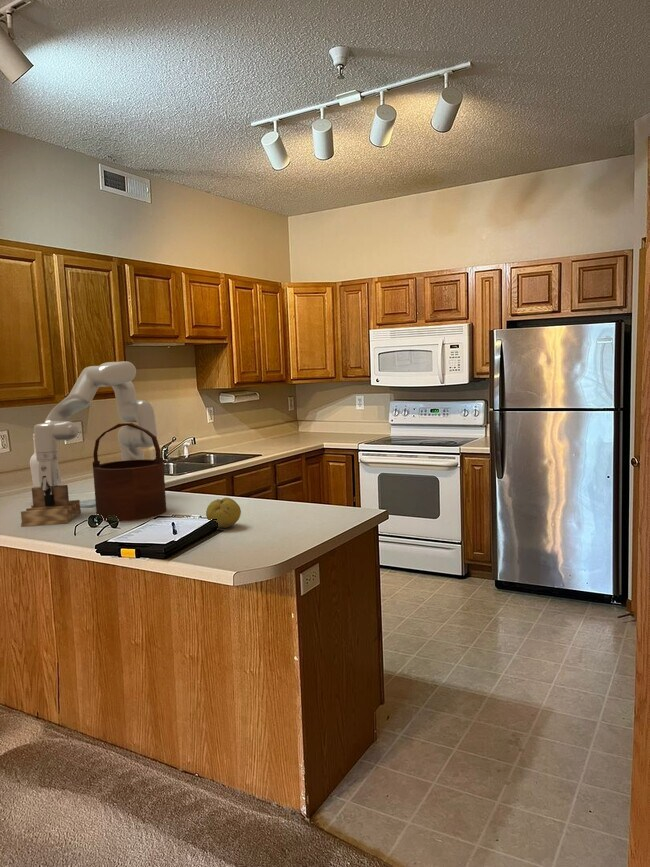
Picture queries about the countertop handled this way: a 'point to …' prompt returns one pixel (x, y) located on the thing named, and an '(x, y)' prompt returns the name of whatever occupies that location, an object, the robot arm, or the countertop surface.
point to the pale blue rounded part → (88, 503)
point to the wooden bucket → (130, 484)
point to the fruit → (224, 512)
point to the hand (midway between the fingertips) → (51, 504)
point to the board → (58, 492)
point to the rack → (50, 514)
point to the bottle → (34, 467)
